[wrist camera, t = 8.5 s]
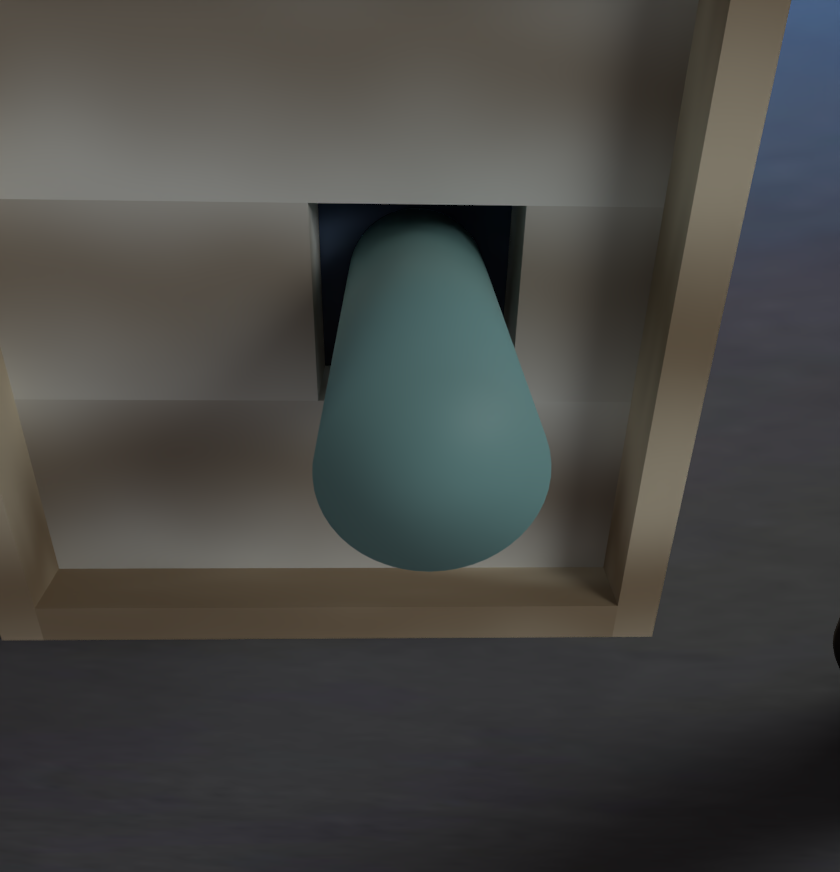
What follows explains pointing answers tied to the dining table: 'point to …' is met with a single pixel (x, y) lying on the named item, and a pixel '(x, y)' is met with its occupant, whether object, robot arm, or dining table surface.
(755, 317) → the dining table surface
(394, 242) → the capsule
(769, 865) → the dining table surface
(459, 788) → the dining table surface
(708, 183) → the tray
